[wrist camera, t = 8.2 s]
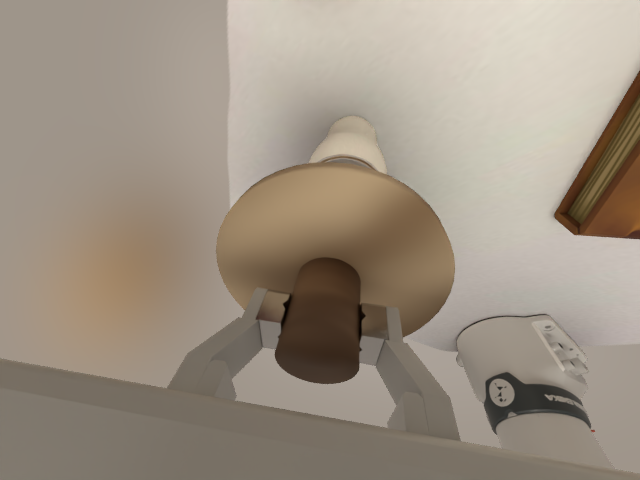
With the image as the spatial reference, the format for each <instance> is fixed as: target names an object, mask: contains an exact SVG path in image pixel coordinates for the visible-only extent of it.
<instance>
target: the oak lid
mask: <svg viewBox="0 0 640 480" xmlns="http://www.w3.org/2000/svg"><path fill="white" fill-rule="evenodd" d="M216 253H217V263H218V267H219V271H220V274H221V276H222V279H223V281H224V283H225V285H226V287H227V289H228V290H229V292H230V293H231V295H232V296H233V297H234V299H235V300H236V301H237V302H238V303H239V305H240V306H241V307H242V308H243V309H244V310H246V308H247V306H248V303H249V301H250V299H251V297H252V295H253V293H254V291H255V289H256V288H257V287H258V288H265V289H271V290H277V291H283V292H289V293H291V295H292V297H291V300H290V304H289V307H288V310H287V313H286V317H285V320H284V324H283V327H282V330H281V334H280V337H279V340H278V344H277V347H276V350H275V358H276V361H277V363H278V364H279V366H280V367H281V368H282V369H284V370H285V371H286V372H288V373H289V374H291V375H293V376H295V377H297V378H299V379H302V380H305V381H309V382H313V383H321V384H334V383H341V382H344V381H347V380H349V379H351V378H353V377H354V376H355V375H356V374H357V372H358V371H359V354H360V305H361V303H368V304H376V305H384V306H390V307H397V308H398V309H399V315H400V322H401V329H402V336H403V337H405V336H407V335H409V334H411V333H413V332H414V331H416V330H418V329H420V328H421V327H422V326H424V325H425V324H426V323H427V322H429V321H430V320H431V319H432V318H433V317H434V316H435V315H436V314H437V313H438V312H439V310H440V309H441V308H442V306H443V305H444V304H445V302H446V300H447V298H448V296H449V294H450V292H451V288H452V285H453V282H454V273H455V263H454V254H453V251H452V247H451V244H450V241H449V239H448V236H447V234H446V232H445V230H444V228H443V226H442V224H441V222H440V220H439V218H438V216H437V215H436V214H435V212H434V211H433V210H432V208H431V207H430V205H429V204H428V203H427V202H426V201H424V200H423V199H422V198H421V197H420V196H419V195H418V194H417V193H416V192H415V191H413V190H412V189H411V188H409V187H408V186H406V185H405V184H404V183H402V182H400V181H398V180H396V179H394V178H392V177H391V176H389V175H387V174H384V173H381V172H379V171H376V170H373V169H370V168H367V167H362V166H358V165H354V164H347V163H337V162H318V163H308V164H302V165H296V166H292V167H289V168H286V169H283V170H280V171H277V172H275V173H273V174H271V175H269V176H267V177H265V178H263V179H262V180H260V181H259V182H257V183H256V184H254V185H253V186H251V187H250V188H249V189H248V190H247V191H246V192H245V193H244V194H243V195H242V196H241V197H240V198H239V200H238V201H237V202H236V203H235V204H234V206H233V207H232V208H231V210H230V211H229V212H228V214H227V215H226V217H225V219H224V221H223V223H222V225H221V227H220V230H219V234H218V238H217V247H216Z"/></svg>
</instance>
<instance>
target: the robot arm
mask: <svg viewBox="0 0 640 480" xmlns="http://www.w3.org/2000/svg"><path fill="white" fill-rule="evenodd" d="M291 297H292V295H291V293H289V292H283V291H277V290H271V289H265V288H258V287H257V288H256V289H255V291H254V293H253V295H252V297H251V299H250V301H249V303H248V306H247V308H246V310H245V312H244V314H243V316H242V318H239V317H238V318H237V319H236V320H235V321H233V322H231V323H230V324H228V325H227V326H226V327H224V328H223V329H222V330H220V331H219V332H217V333H216V334H214V335H213V336H212V337H210V338H209V339H207V340H206V341H204V342H203V343H202V344H200V345H199V346H198V347H196V348H195V349H193V350H192V351H190V352H189V353H188V354H187V355H186V357H185V359H184V360H183V362H182V364H181V365H180V367H179V369H178V370H177V372H176V374H175V375H174V377H173V379H172V381H171V382H170V384H169V385H168V387H167V388H162V387H156V386H151V385H145V384H140V383H135V382H129V381H123V380H118V379H112V378H107V377H101V376H96V375H90V374H84V373H79V372H73V371H68V370H62V369H56V368H51V367H45V366H40V365H34V364H29V363H23V362H17V361H12V360H7V359H1V358H0V480H640V473H634V472H629V471H623V470H618V469H615V468H614V466H613V465H612V463H611V462H610V461H609V459H608V457H607V456H606V454H605V453H604V451H603V449H602V448H601V446H600V445H599V443H598V441H597V440H596V438H595V436H594V435H593V433H592V432H595V430H590V429H591V424H590V421H589V419H588V414H587V412H586V410H585V409H584V407H583V405H582V402H581V401H580V400H581V398H582V397H583V395H584V394H585V392H586V391H587V389H588V385H587V383H586V381H585V379H584V378H583V376H582V375H581V374H584V373H588V372H589V370H588V369H587V367H586V366H585V365H584V363H585V362H586V361H587V360H588V358H587V357H586V355H585V353H584V352H583V351H582V350H581V349H580V348H579V347H578V346H577V345H576V344H575V342H574V341H573V340H572V339H571V338H570V337H569V336H568V335H567V334H566V333H565V332H564V331H563V330H562V329H561V328H560V327H559V325H558V324H557V323H556V322H555V321H554V320H553V319H552V318H551V317H550V316H547V315H539V316H532V317H498V318H492V319H488V320H484V321H481V322H478V323H476V324H474V325H472V326H470V327H468V328H467V329H465V330H464V331H463V332H462V333H461V334H460V335H459V337H458V339H457V349H458V355H457V358H456V360H457V363H458V365H459V366H461V367H464V369H465V372H466V374H467V377H468V379H469V381H470V384H471V386H472V388H473V391H474V393H475V396H476V398H477V399H478V400H479V401H481V402H482V403H484V407H485V411H486V414H487V418H488V421H489V423H490V425H491V427H492V430H493V431H494V433H495V434H496V435H497V436H498V438H499V441H500V444H501V447H502V449H501V448H496V447H490V446H484V445H479V444H474V443H468V442H462V441H461V440H460V436H459V432H458V428H457V424H456V420H455V416H454V412H453V408H452V404H451V400H450V397H449V396H448V395H447V394H446V392H445V391H444V390H443V389H442V387H441V386H440V385H439V383H438V382H437V381H436V380H435V378H434V377H433V376H432V374H431V373H430V372H429V371H428V369H427V368H426V367H425V366H424V364H423V363H422V362H421V361H420V359H419V358H418V357H417V355H416V354H415V353H414V352H413V350H412V349H411V348H410V347H409V345H408V344H407V343H403V336H402V329H401V322H400V315H399V309H398V308H397V307H390V306H384V305H376V304H368V303H361V305H360V354H359V363H364V364H369V365H374V366H376V368H377V370H378V372H379V374H380V376H381V378H382V379H383V381H384V383H385V385H386V387H387V389H388V391H389V392H390V394H391V396H392V398H393V400H394V402H395V403H396V405H397V406H396V408H395V410H394V412H393V413H392V415H391V417H390V419H389V421H388V423H387V424H388V428H385V427H379V426H373V425H368V424H363V423H357V422H351V421H346V420H340V419H335V418H329V417H324V416H318V415H312V414H307V413H301V412H295V411H290V410H285V409H279V408H274V407H267V406H262V405H257V404H251V403H245V402H240V401H235V398H236V393H235V389H234V386H233V383H232V378H233V377H234V376H235V375H236V374H237V373H238V372H239V371H240V370H241V369H242V368H243V367H244V366H245V365H246V364H247V363H248V362H249V361H250V360H251V359H252V358H253V357H254V356H255V355H256V354H257V353H258V352H259V351H260V350H261V349H262V347H264V348H271V349H276V347H277V344H278V340H279V337H280V334H281V330H282V327H283V324H284V320H285V317H286V313H287V310H288V307H289V304H290V300H291Z"/></svg>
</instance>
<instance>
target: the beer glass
mask: <svg viewBox="0 0 640 480" xmlns="http://www.w3.org/2000/svg"><path fill="white" fill-rule="evenodd" d="M318 162H337V163H347V164H354V165H358V166H362V167H367V168H370V169H373V170H376V171H379V172H381V173H384V174H387V168H386V164H385V160H384V157H383V154H382V152H381V150H380V149H379V147H378V146H377V136H376V132H375V130H374V128H373V126H372V125H371V124H370V123H369V122H368V121H367V120H365V119H363V118H361V117H358V116H346V117H343V118H341V119H339V120H338V121H336V122H335V123H334V124H333V125H332V126H331V128H330V130H329V132H328V134H327V138H326V139H325V140H324V141H323V142H321V143H320V144H319V146H318V147H317V148H316V150H315V151H314V153H313V154H312V156H311V158H310V160H309V162H308V163H318Z"/></svg>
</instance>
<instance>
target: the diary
mask: <svg viewBox="0 0 640 480" xmlns="http://www.w3.org/2000/svg"><path fill="white" fill-rule="evenodd" d="M555 219H556V220H558V221H559V222H560V223H561V224H562V225H563V226H565V227H566V228H567V229H568V230H569V231H570V232H571V233H573V234H574V235H583V236H599V237H614V238H629V239H640V71H639V73H638V74H637V76H636V78H635V80H634V81H633V83H632V85H631V86H630V88H629V90H628V91H627V93H626V95H625V96H624V98H623V100H622V101H621V103H620V105H619V106H618V108H617V110H616V111H615V113H614V115H613V116H612V118H611V120H610V121H609V123H608V125H607V127H606V128H605V130H604V132H603V133H602V135H601V137H600V138H599V140H598V142H597V143H596V145H595V147H594V148H593V150H592V152H591V153H590V155H589V157H588V158H587V160H586V162H585V163H584V165H583V167H582V168H581V170H580V172H579V174H578V175H577V177H576V179H575V180H574V182H573V184H572V185H571V187H570V189H569V190H568V192H567V194H566V195H565V197H564V199H563V200H562V202H561V204H560V205H559V207H558V209H557V210H556V212H555Z"/></svg>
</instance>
